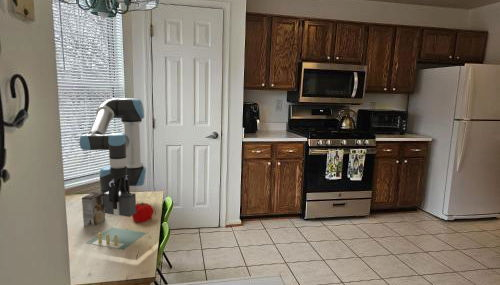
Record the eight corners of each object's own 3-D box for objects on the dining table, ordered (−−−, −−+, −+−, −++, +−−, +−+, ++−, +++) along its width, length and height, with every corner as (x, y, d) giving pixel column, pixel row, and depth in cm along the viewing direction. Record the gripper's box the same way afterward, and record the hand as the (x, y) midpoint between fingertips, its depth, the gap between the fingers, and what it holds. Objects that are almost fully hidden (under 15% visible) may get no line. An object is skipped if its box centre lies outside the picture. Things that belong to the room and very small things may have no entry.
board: (112, 230, 167) (111, 218, 166) (146, 235, 162) (146, 224, 161) (85, 246, 150) (85, 233, 149) (123, 252, 145) (123, 240, 144)
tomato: (129, 226, 173) (129, 207, 171) (134, 216, 185) (133, 199, 183) (152, 225, 174) (151, 206, 173) (155, 216, 187) (154, 198, 185)
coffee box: (95, 220, 179) (93, 192, 176) (105, 221, 178) (104, 193, 175) (83, 227, 170) (81, 197, 167) (94, 228, 169) (92, 198, 166)
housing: (111, 209, 165) (110, 190, 163) (136, 213, 161) (135, 193, 159) (104, 213, 160) (103, 193, 158) (129, 217, 157) (129, 197, 155)
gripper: (123, 161, 166) (125, 205, 170) (98, 170, 149) (101, 218, 153) (136, 162, 164) (138, 206, 168) (112, 171, 147) (115, 221, 151)
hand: (120, 212), depth 161 cm, fingers closed on housing, 5 cm apart
